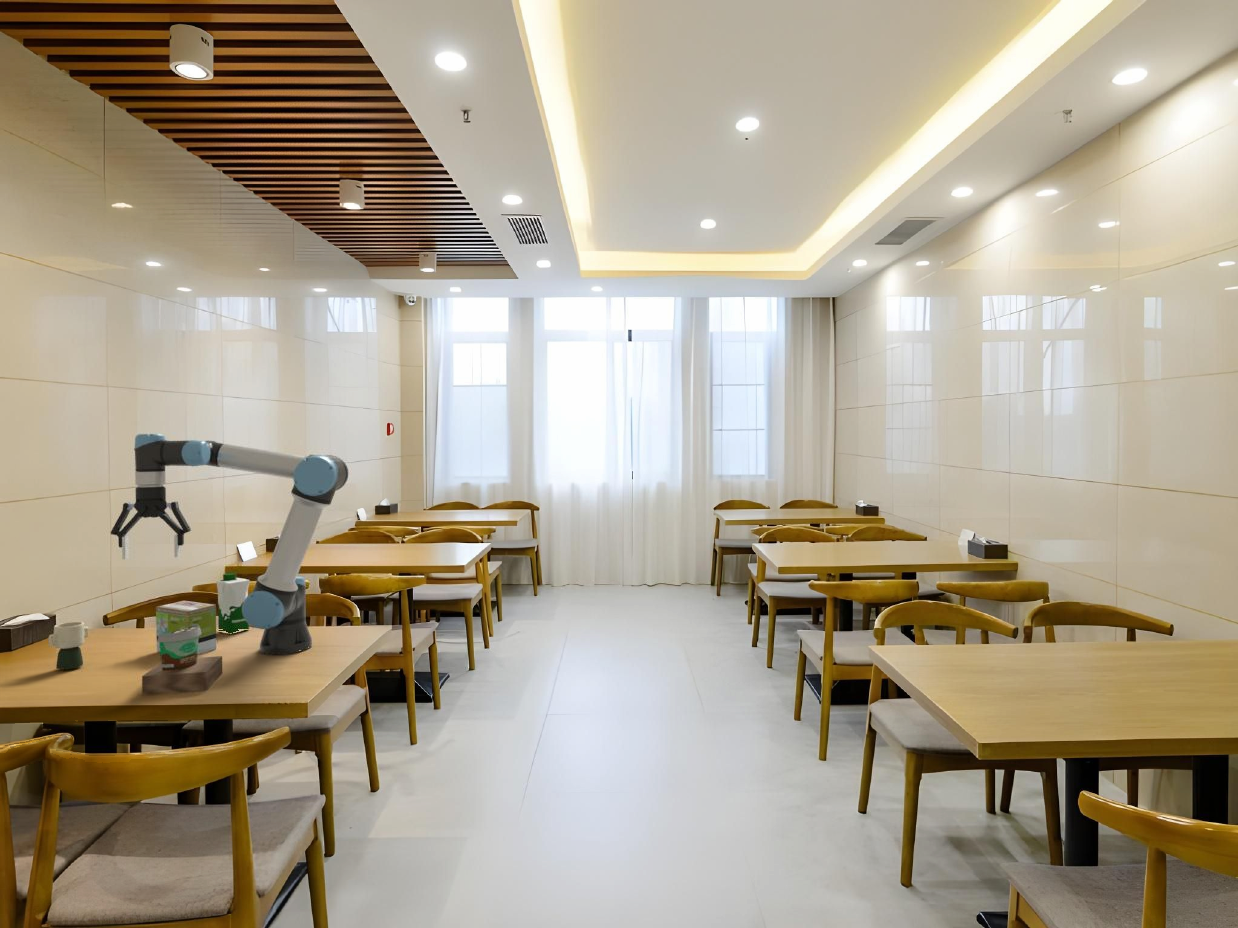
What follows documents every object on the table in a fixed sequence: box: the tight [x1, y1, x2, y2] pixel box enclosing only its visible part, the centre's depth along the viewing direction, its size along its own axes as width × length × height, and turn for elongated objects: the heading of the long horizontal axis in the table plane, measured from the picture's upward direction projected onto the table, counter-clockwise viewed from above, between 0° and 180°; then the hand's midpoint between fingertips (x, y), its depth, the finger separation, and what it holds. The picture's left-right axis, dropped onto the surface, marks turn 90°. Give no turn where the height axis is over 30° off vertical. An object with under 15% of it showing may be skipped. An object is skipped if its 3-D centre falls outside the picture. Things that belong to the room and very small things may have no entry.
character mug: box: [48, 621, 90, 671], centre depth 211 cm, size 11×7×13 cm, turn 161°
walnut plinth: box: [141, 655, 223, 696], centre depth 197 cm, size 15×15×5 cm
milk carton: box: [215, 572, 251, 633], centre depth 254 cm, size 9×9×20 cm
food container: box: [156, 624, 201, 670], centre depth 197 cm, size 12×6×10 cm, turn 170°
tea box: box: [155, 600, 217, 656], centre depth 229 cm, size 15×10×15 cm
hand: (151, 557), depth 215 cm, fingers open, 13 cm apart
